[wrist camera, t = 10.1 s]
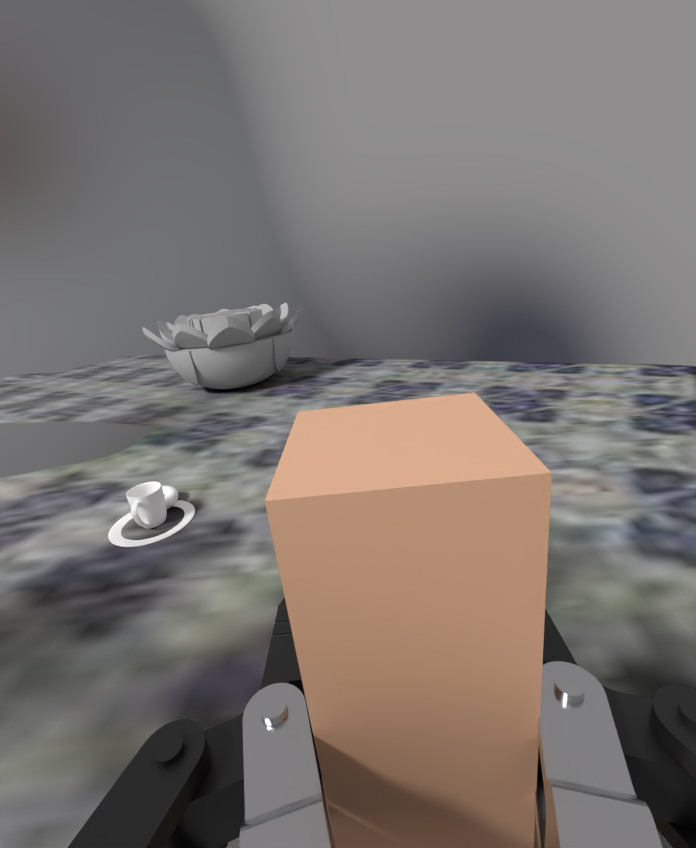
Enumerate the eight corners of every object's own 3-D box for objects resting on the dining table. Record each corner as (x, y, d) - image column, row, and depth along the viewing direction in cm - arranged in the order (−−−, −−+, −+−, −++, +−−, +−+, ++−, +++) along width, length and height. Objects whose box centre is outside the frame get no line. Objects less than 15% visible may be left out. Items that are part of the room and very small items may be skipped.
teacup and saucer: (157, 497, 48) (147, 464, 47) (216, 503, 46) (208, 468, 44) (90, 545, 41) (76, 508, 39) (157, 556, 38) (144, 516, 36)
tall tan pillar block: (526, 981, 11) (552, 472, 6) (365, 988, 11) (264, 500, 6) (476, 775, 15) (467, 385, 10) (361, 783, 15) (301, 403, 10)
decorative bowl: (245, 363, 113) (234, 304, 108) (333, 369, 96) (324, 299, 90) (135, 398, 92) (113, 326, 86) (222, 414, 74) (201, 324, 69)
